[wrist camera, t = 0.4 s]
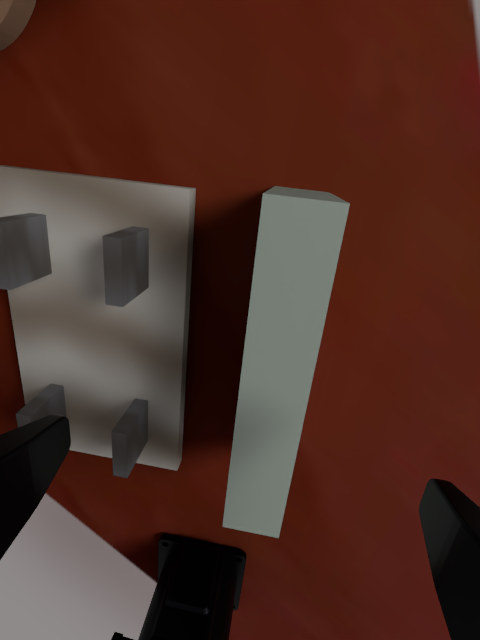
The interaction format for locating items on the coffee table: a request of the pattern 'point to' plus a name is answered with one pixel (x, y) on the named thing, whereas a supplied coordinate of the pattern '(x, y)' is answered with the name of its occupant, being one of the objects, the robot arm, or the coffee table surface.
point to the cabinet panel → (100, 308)
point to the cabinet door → (281, 349)
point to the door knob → (13, 19)
